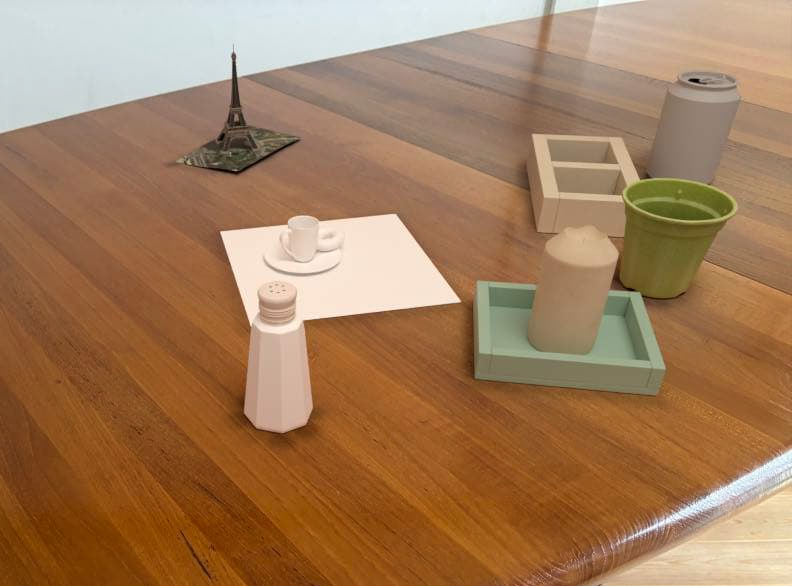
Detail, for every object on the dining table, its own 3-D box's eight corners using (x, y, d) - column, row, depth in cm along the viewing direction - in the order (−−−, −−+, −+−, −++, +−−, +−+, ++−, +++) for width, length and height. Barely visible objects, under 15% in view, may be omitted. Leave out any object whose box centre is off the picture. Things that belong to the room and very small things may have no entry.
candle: (517, 345, 69) (538, 237, 63) (539, 317, 73) (562, 211, 67) (582, 365, 67) (611, 254, 61) (602, 334, 70) (632, 227, 64)
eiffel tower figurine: (238, 177, 102) (233, 65, 94) (174, 161, 107) (165, 53, 99) (301, 140, 112) (302, 35, 104) (240, 127, 116) (237, 27, 108)
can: (638, 167, 101) (666, 65, 94) (704, 170, 100) (737, 67, 92) (649, 191, 95) (679, 85, 88) (718, 195, 94) (755, 87, 87)
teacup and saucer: (338, 237, 88) (339, 201, 85) (358, 271, 82) (360, 234, 79) (257, 245, 87) (256, 209, 84) (272, 281, 81) (271, 243, 78)
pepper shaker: (317, 431, 62) (321, 305, 55) (246, 437, 62) (241, 311, 55) (308, 389, 66) (310, 267, 60) (241, 394, 66) (236, 272, 59)
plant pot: (719, 312, 74) (752, 223, 69) (609, 305, 75) (633, 217, 70) (693, 264, 81) (721, 179, 76) (593, 258, 83) (614, 175, 77)
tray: (632, 317, 74) (640, 291, 72) (657, 396, 64) (666, 369, 63) (473, 304, 76) (477, 280, 75) (474, 379, 67) (478, 352, 65)
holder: (613, 169, 101) (621, 137, 98) (639, 238, 86) (650, 202, 83) (526, 165, 103) (531, 133, 100) (536, 232, 88) (543, 197, 85)
